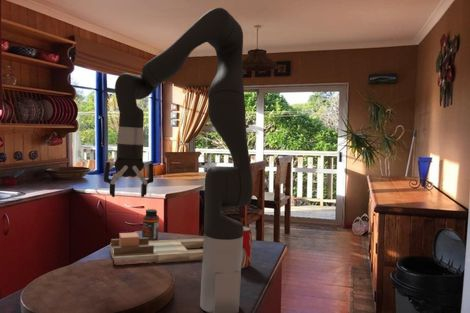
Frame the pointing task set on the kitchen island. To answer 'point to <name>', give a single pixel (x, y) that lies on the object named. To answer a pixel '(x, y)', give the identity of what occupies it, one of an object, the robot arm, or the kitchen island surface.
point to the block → (128, 239)
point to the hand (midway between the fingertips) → (128, 196)
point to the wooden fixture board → (159, 250)
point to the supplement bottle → (150, 225)
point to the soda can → (246, 247)
